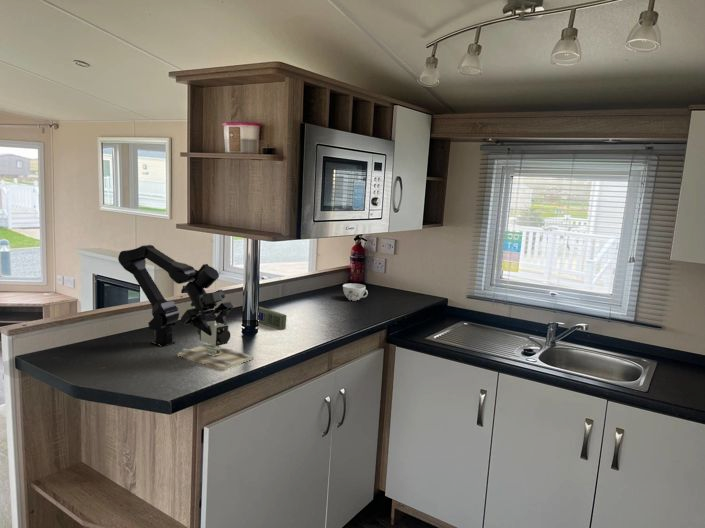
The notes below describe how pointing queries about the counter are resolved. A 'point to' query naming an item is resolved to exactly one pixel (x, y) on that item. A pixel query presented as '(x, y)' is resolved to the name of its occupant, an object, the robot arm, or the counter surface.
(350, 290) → the teacup
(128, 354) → the counter surface
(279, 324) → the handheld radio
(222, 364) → the mounting panel
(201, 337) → the pneumatic valve
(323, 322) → the counter surface
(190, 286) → the robot arm
